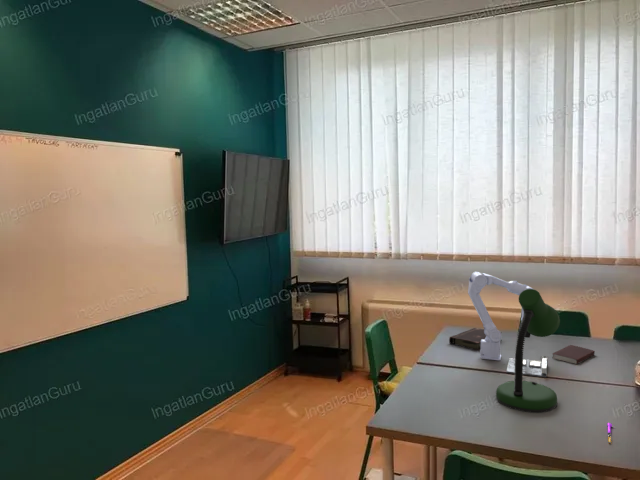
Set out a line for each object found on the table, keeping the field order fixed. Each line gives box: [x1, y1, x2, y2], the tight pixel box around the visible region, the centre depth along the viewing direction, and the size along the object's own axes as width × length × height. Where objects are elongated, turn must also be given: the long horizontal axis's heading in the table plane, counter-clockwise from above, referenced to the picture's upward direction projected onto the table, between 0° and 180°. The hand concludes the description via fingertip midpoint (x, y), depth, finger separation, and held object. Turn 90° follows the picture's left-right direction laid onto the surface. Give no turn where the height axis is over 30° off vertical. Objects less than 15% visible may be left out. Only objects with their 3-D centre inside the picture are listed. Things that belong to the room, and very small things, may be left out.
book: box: [552, 344, 595, 365], centre depth 257 cm, size 12×19×3 cm, turn 129°
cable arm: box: [540, 355, 549, 373], centre depth 238 cm, size 17×3×3 cm, turn 156°
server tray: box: [506, 357, 548, 378], centre depth 243 cm, size 17×20×2 cm
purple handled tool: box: [606, 422, 613, 443], centre depth 177 cm, size 3×1×16 cm
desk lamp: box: [495, 288, 561, 414], centre depth 207 cm, size 31×23×45 cm
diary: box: [448, 327, 502, 351], centre depth 284 cm, size 19×25×5 cm
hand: (527, 337), depth 256 cm, fingers closed
